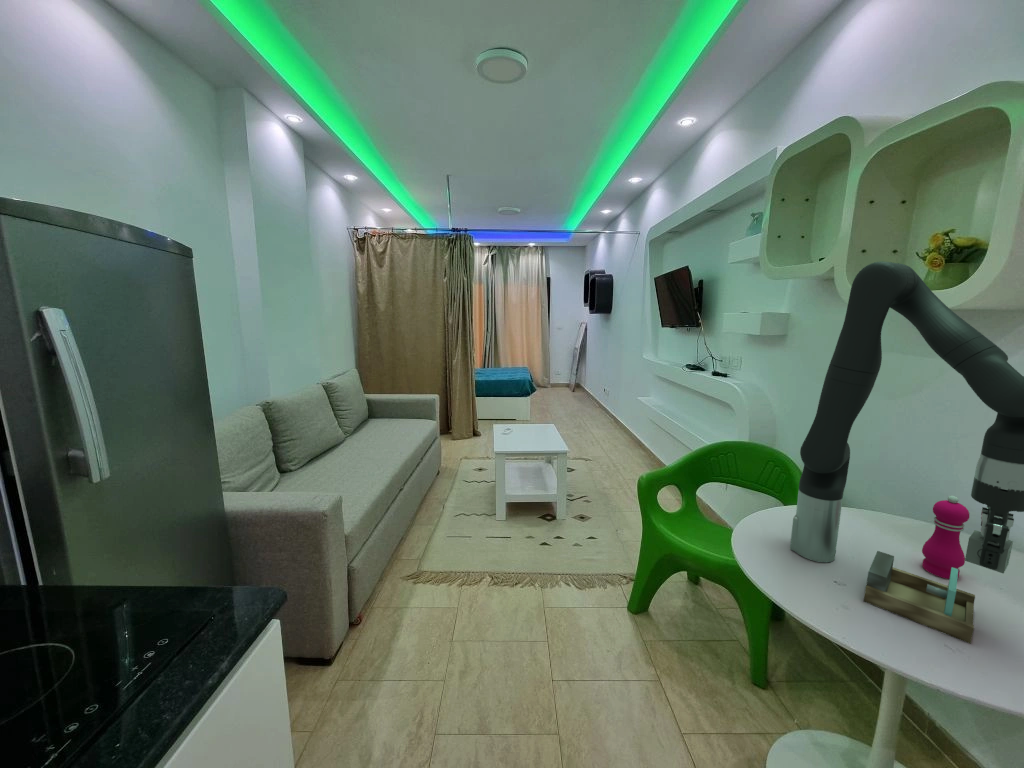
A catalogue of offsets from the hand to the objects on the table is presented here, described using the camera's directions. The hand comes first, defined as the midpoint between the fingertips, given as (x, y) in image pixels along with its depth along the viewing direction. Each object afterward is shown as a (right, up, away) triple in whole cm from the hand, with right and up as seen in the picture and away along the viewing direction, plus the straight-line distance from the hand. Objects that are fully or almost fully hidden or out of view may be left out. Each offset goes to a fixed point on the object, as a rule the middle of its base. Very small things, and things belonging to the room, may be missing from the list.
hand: (987, 560), depth 80 cm
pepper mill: (+12, -12, +20) cm, 26 cm away
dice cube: (0, -1, 0) cm, 1 cm away
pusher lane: (-5, -14, +9) cm, 17 cm away
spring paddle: (-3, -13, +7) cm, 15 cm away
